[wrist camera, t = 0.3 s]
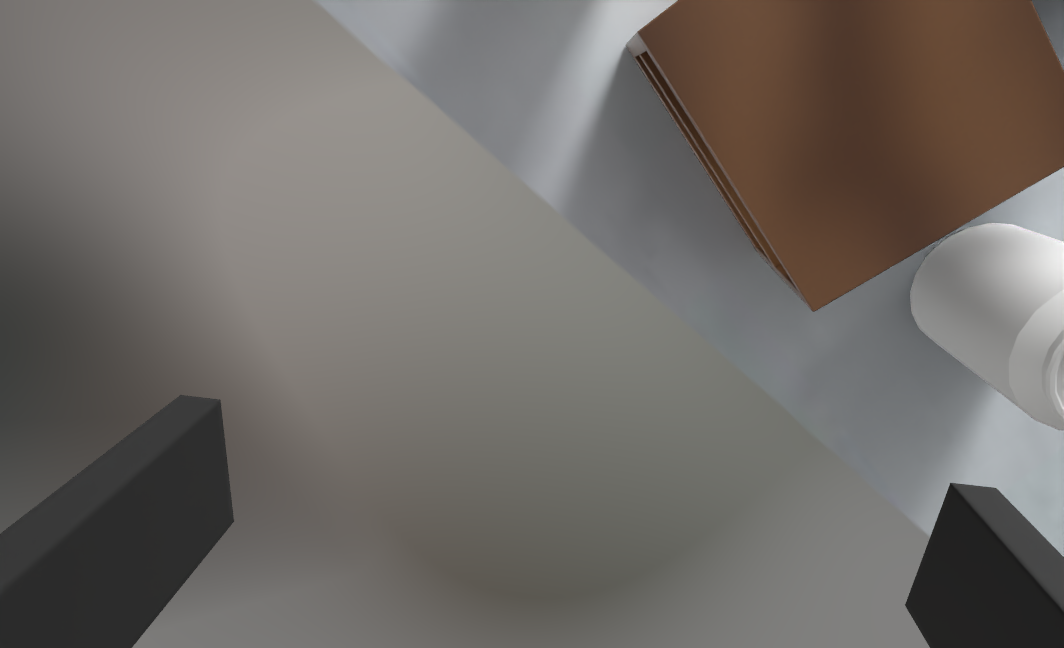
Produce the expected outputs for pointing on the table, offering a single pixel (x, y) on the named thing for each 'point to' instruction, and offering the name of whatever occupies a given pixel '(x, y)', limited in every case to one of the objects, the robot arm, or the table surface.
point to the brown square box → (857, 121)
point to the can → (999, 312)
